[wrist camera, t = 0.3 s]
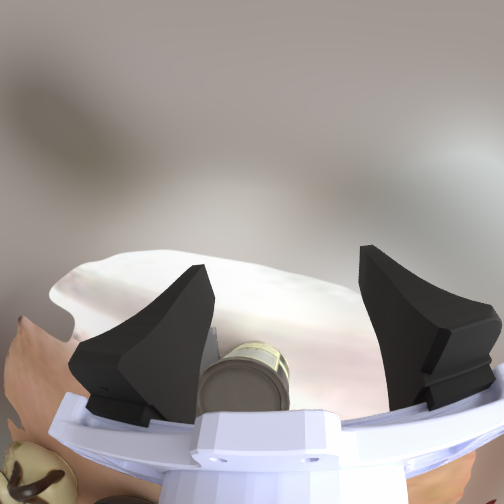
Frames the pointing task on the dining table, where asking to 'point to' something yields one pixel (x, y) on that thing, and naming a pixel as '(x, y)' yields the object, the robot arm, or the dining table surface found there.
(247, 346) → the coffee can
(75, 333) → the dining table surface
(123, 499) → the bowl of black rocks
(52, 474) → the pitcher
